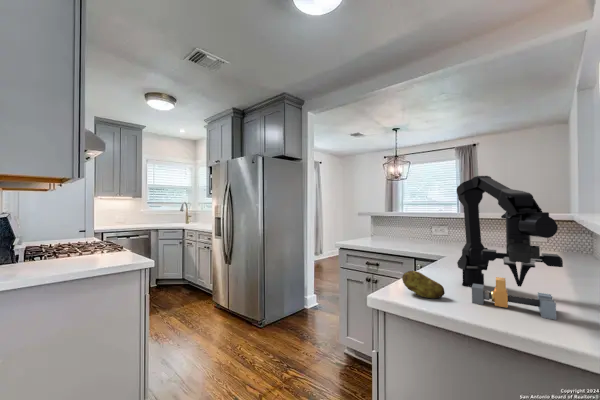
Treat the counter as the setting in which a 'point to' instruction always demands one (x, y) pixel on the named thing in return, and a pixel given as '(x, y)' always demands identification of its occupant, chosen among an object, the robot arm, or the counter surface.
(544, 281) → the counter surface
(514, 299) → the black rod
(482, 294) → the connector
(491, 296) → the band
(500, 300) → the sleeve
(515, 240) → the robot arm
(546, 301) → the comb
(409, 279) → the potato
